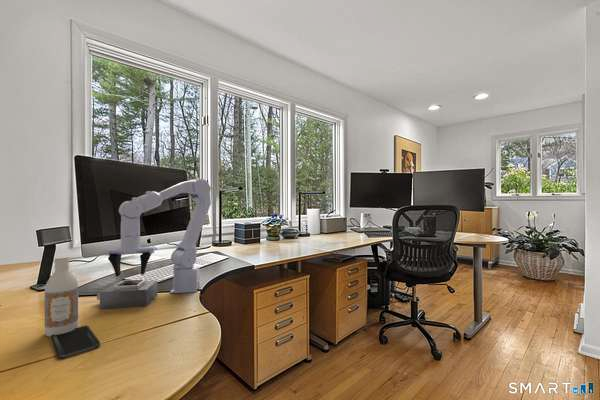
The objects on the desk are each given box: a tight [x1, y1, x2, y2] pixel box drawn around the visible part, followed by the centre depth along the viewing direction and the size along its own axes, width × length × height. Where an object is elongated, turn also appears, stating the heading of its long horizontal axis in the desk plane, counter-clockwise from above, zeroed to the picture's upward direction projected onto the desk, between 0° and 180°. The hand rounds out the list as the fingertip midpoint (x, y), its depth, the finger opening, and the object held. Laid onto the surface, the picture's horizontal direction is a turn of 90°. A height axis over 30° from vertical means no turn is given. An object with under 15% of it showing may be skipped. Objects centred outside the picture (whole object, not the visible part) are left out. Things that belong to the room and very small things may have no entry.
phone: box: [50, 325, 101, 360], centre depth 70 cm, size 8×1×15 cm
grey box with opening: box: [96, 278, 158, 310], centre depth 98 cm, size 17×11×7 cm, turn 100°
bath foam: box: [44, 255, 79, 338], centre depth 76 cm, size 7×7×20 cm
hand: (130, 274), depth 98 cm, fingers open, 7 cm apart
